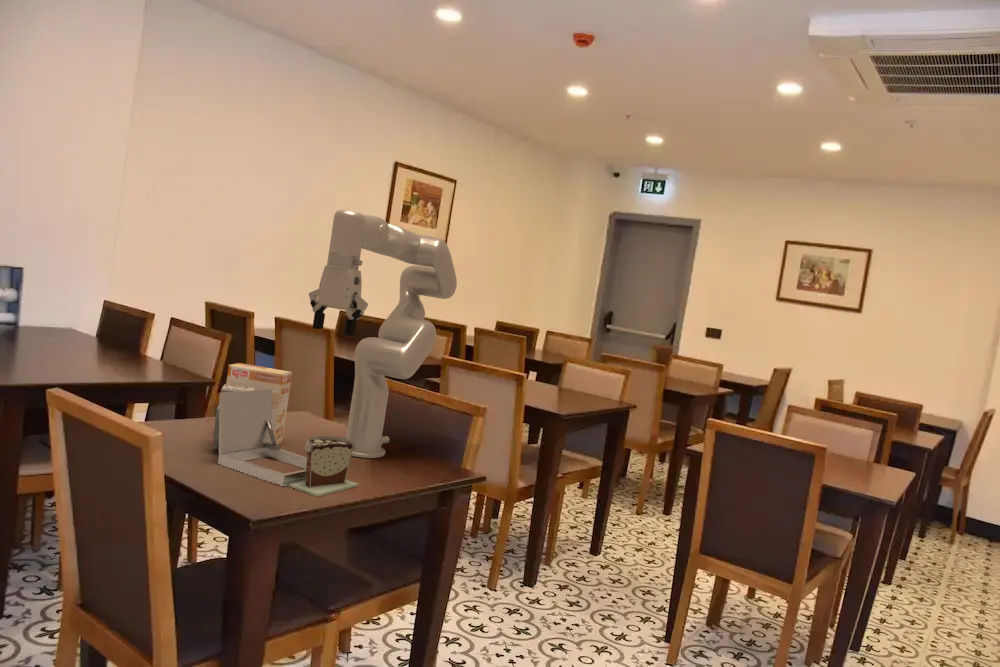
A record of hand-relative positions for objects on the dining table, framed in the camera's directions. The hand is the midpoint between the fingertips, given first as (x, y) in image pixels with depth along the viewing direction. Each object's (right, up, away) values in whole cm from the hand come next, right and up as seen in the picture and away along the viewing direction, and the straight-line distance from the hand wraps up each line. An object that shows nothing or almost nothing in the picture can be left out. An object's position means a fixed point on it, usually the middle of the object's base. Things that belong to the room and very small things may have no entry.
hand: (333, 332), depth 182 cm
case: (-13, -32, -6) cm, 35 cm away
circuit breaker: (-27, -29, +4) cm, 40 cm away
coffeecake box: (-26, -29, +17) cm, 42 cm away
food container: (0, -34, -13) cm, 36 cm away
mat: (+1, -35, -14) cm, 37 cm away
